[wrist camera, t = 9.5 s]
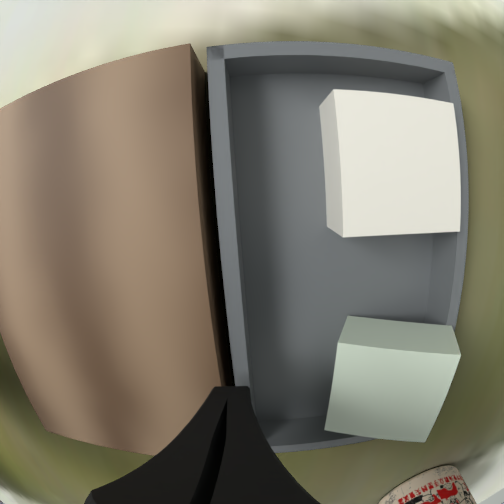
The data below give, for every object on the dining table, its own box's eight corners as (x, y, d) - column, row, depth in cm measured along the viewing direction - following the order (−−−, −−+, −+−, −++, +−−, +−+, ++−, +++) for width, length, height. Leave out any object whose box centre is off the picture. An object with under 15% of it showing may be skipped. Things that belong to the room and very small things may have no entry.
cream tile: (460, 231, 10) (429, 222, 12) (453, 103, 8) (423, 113, 11) (343, 237, 10) (326, 226, 12) (333, 89, 9) (319, 106, 11)
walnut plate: (65, 404, 16) (46, 430, 13) (7, 129, 12) (-28, 125, 9) (237, 422, 15) (234, 461, 12) (204, 71, 11) (189, 43, 8)
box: (246, 422, 15) (245, 453, 13) (215, 69, 11) (206, 47, 9) (410, 400, 15) (426, 425, 12) (426, 77, 11) (452, 62, 8)
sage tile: (425, 442, 10) (424, 408, 12) (461, 354, 9) (451, 325, 11) (324, 430, 12) (335, 398, 14) (337, 342, 11) (347, 315, 13)
